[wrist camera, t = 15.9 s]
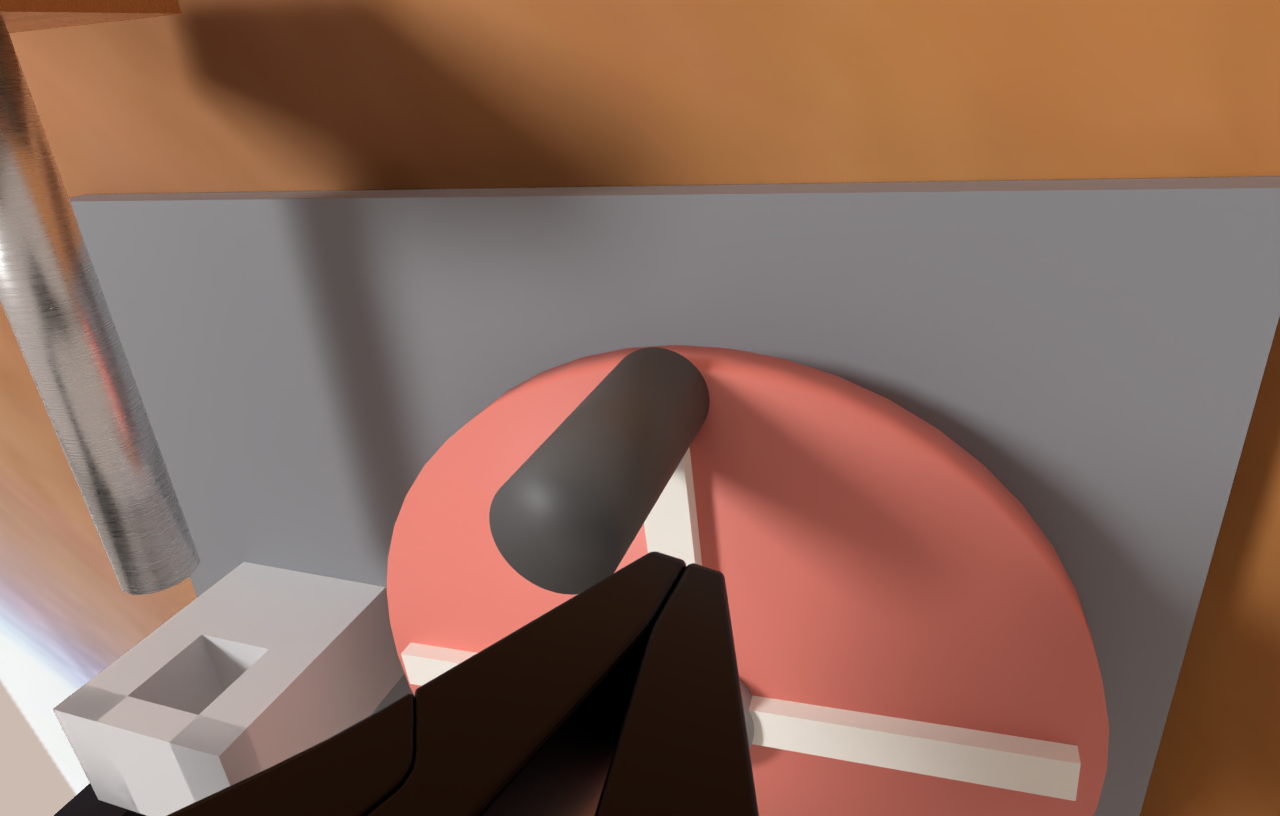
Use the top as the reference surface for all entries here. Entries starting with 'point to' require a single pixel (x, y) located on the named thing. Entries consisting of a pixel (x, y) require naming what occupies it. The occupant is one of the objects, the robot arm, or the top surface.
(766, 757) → the handwheel
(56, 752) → the top surface
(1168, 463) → the mounting plate
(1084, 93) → the top surface
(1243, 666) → the top surface
